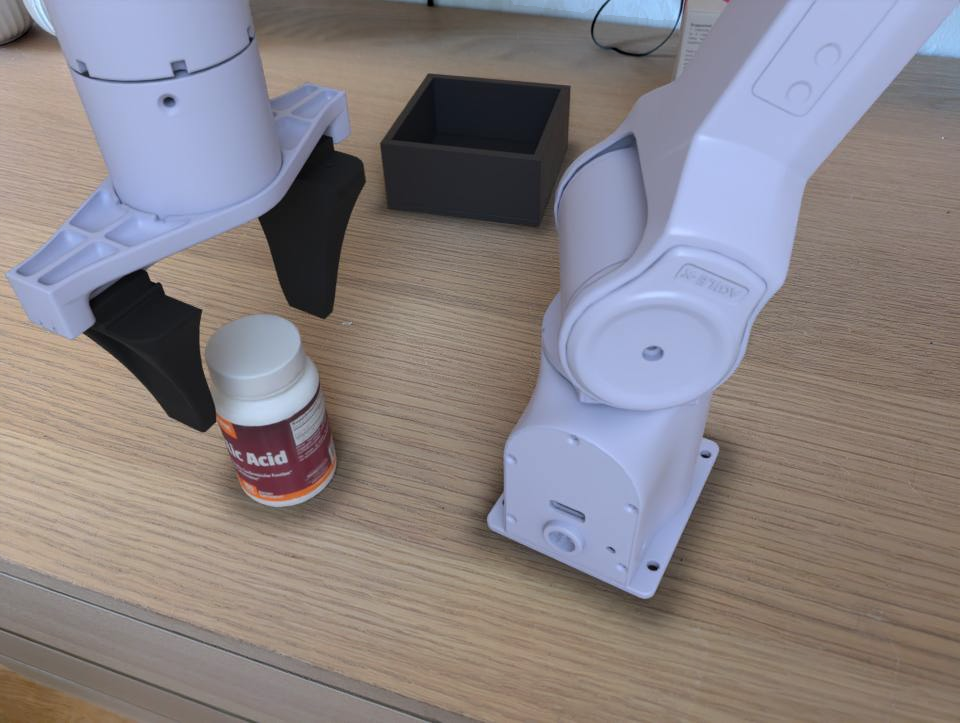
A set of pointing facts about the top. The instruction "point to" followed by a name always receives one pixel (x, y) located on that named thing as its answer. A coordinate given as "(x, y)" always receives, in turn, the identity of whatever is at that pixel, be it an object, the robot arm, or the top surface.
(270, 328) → the pill bottle
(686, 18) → the supplement box
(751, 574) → the top surface
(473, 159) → the open storage bin
